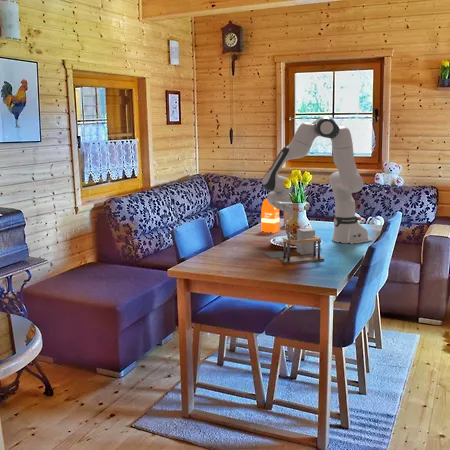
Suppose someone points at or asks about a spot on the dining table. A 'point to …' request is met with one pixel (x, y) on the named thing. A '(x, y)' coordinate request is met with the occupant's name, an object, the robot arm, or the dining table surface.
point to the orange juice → (269, 217)
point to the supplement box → (305, 246)
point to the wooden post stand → (301, 242)
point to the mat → (275, 254)
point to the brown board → (302, 259)
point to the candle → (286, 216)
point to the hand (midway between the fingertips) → (299, 208)
